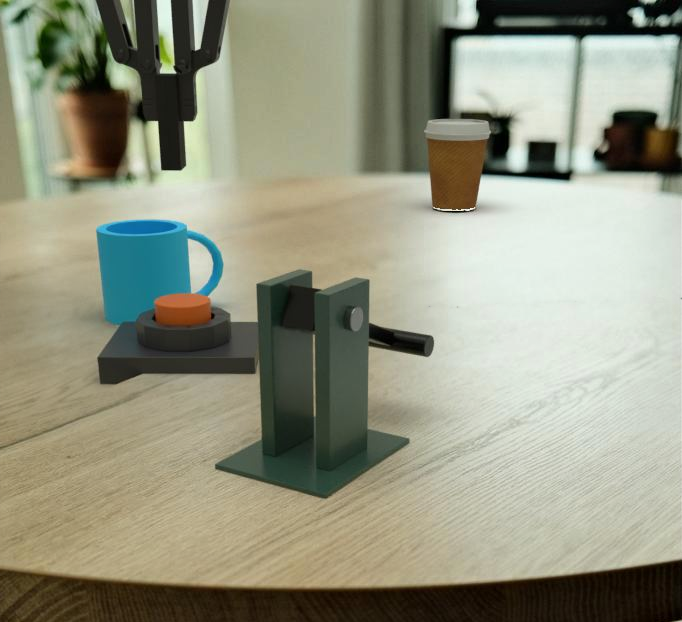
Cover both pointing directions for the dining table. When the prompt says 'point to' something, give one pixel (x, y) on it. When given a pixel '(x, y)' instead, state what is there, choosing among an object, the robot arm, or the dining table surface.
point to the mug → (147, 265)
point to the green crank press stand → (298, 393)
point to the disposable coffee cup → (456, 161)
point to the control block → (179, 348)
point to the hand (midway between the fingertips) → (173, 167)
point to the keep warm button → (182, 309)
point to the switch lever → (303, 319)
